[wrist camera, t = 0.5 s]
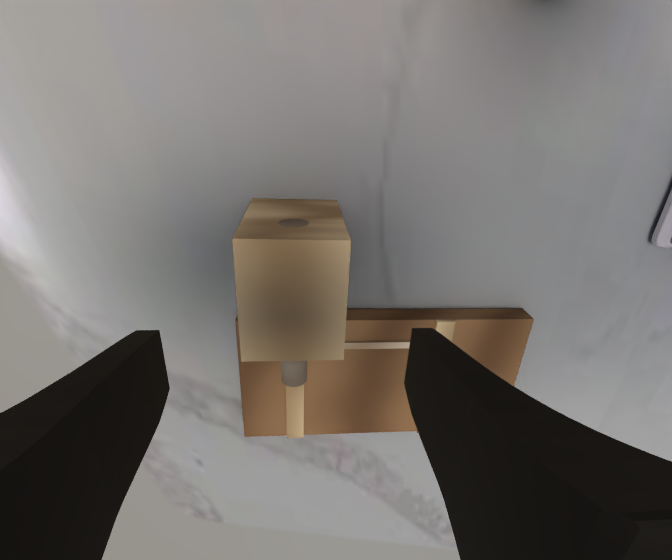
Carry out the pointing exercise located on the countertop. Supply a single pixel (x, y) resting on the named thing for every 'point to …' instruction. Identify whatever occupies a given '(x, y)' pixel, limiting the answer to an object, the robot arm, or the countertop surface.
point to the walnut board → (374, 371)
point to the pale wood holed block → (292, 283)
